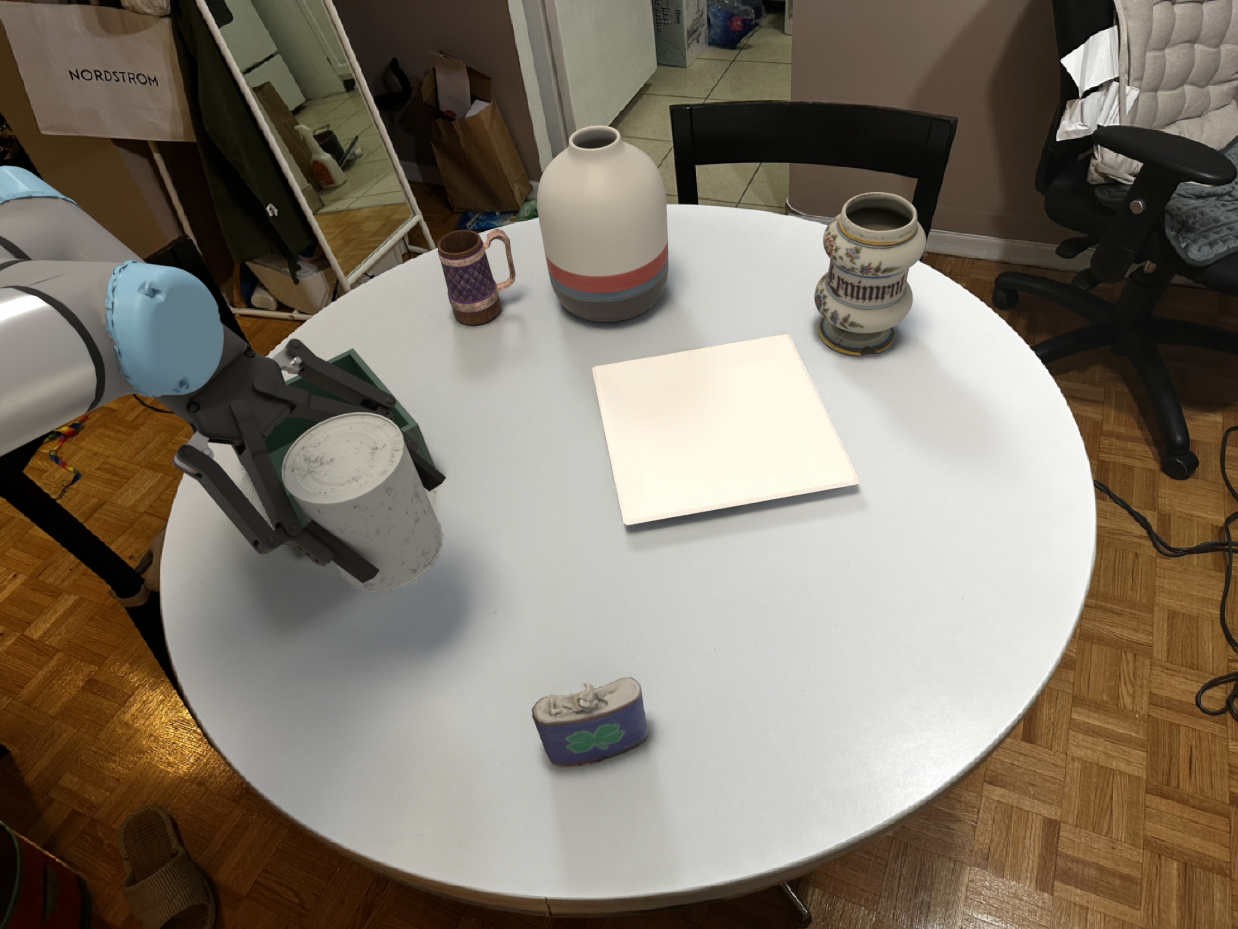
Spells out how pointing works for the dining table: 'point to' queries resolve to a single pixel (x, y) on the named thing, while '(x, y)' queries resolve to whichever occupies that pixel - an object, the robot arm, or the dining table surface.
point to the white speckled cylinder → (366, 496)
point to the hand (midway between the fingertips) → (406, 528)
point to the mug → (472, 275)
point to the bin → (296, 427)
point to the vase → (604, 226)
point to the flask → (591, 723)
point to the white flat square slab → (717, 429)
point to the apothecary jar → (868, 272)
